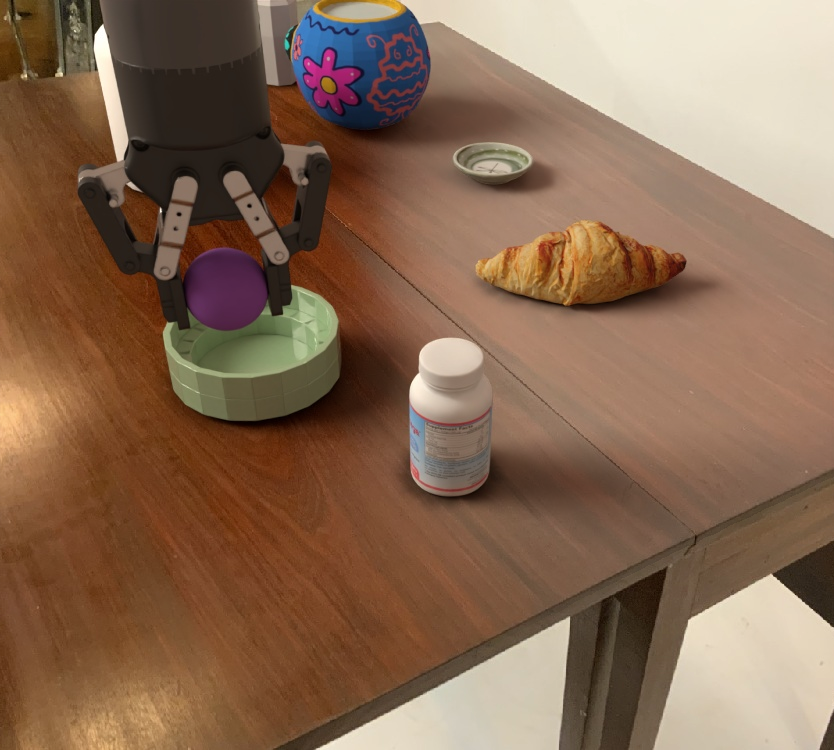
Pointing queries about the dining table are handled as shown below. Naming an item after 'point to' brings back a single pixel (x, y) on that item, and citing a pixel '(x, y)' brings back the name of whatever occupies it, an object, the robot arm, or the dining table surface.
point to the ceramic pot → (360, 61)
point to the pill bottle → (450, 418)
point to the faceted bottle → (277, 39)
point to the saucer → (492, 162)
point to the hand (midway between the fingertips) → (230, 314)
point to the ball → (225, 289)
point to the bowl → (257, 361)
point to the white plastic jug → (111, 96)
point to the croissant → (581, 266)
